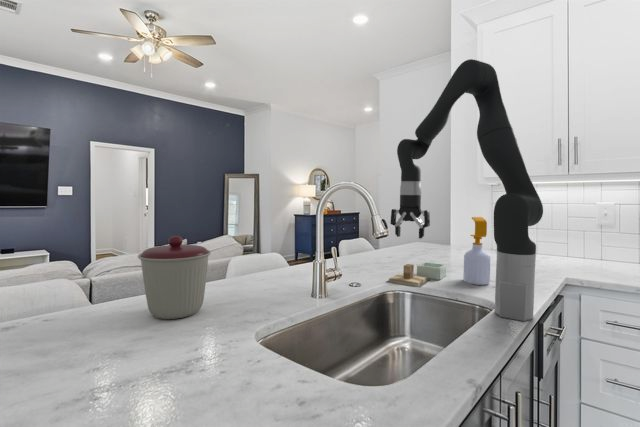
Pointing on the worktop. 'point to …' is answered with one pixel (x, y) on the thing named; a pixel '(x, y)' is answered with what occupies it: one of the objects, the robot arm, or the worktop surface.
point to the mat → (411, 285)
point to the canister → (174, 278)
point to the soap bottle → (477, 257)
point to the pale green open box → (431, 270)
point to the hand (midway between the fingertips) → (409, 237)
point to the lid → (408, 277)
